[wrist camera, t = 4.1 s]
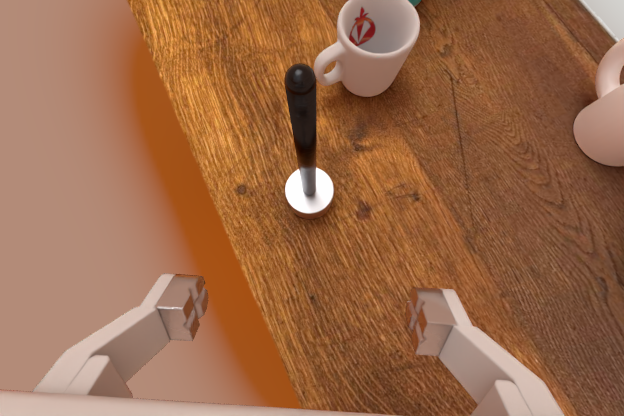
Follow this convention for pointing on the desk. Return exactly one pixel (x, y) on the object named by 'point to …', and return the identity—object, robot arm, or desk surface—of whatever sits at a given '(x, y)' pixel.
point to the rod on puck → (305, 147)
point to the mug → (604, 113)
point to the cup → (369, 45)
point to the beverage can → (414, 2)
